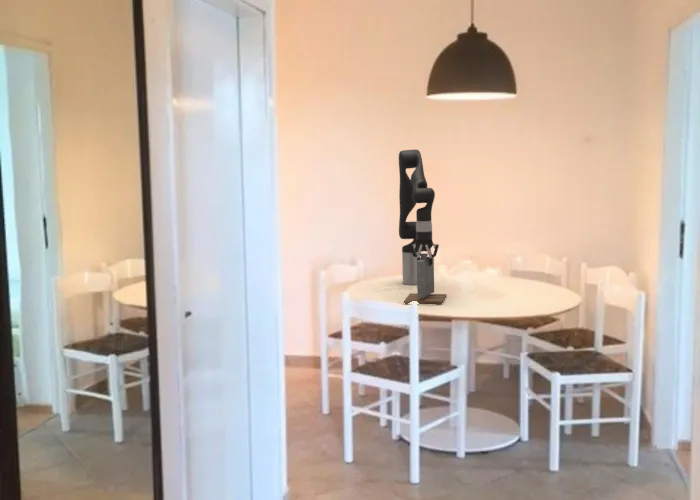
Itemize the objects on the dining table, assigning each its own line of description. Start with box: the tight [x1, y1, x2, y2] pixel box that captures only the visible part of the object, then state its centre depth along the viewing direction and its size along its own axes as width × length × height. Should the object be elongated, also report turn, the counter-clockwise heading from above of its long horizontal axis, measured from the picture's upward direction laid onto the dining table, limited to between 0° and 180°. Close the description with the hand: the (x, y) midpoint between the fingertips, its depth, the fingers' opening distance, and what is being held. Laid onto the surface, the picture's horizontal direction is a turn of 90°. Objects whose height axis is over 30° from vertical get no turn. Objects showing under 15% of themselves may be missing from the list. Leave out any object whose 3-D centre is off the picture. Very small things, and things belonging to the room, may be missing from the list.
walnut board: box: [403, 293, 448, 305], centre depth 384 cm, size 18×18×2 cm
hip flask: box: [416, 252, 435, 298], centre depth 382 cm, size 16×4×20 cm, turn 152°
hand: (424, 265), depth 381 cm, fingers closed on hip flask, 4 cm apart
